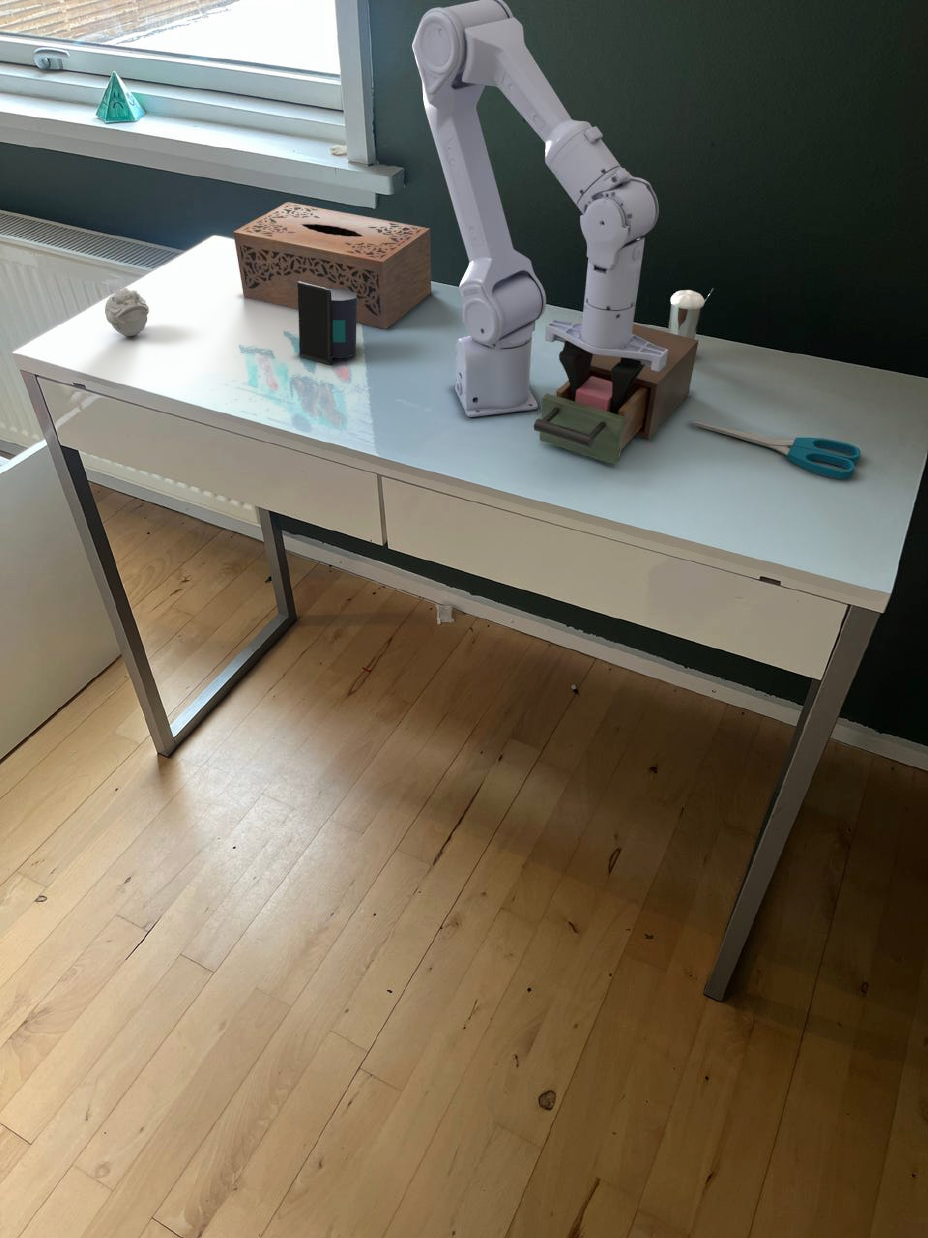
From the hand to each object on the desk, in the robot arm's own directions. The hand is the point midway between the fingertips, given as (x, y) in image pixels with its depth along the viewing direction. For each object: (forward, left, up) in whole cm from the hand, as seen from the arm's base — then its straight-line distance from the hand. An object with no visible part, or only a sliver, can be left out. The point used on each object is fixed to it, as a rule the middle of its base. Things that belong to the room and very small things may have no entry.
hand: (597, 408), depth 111 cm
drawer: (-1, -1, -3) cm, 4 cm away
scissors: (+21, -7, -4) cm, 22 cm away
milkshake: (+19, +18, -4) cm, 27 cm away
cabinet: (+7, +7, -4) cm, 11 cm away
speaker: (-29, +30, -4) cm, 42 cm away
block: (0, 0, -1) cm, 1 cm away
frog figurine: (-57, +42, -4) cm, 71 cm away
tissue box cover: (-25, +49, -4) cm, 56 cm away
